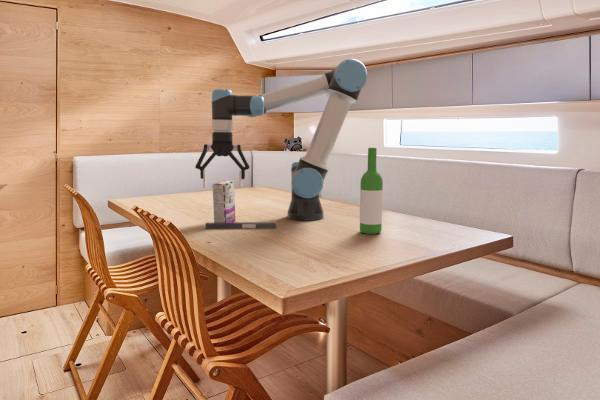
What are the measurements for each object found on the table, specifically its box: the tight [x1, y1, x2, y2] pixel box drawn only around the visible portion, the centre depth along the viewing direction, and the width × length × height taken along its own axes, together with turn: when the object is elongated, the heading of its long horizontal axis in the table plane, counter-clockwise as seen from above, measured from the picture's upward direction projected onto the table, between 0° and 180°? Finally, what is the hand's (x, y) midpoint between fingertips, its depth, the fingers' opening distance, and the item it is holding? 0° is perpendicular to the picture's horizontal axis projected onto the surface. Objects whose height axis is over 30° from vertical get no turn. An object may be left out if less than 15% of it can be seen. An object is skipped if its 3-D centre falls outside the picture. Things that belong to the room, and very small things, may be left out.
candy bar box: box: [212, 180, 236, 223], centre depth 179 cm, size 11×5×16 cm, turn 168°
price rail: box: [205, 221, 277, 230], centre depth 173 cm, size 26×2×2 cm, turn 92°
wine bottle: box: [359, 147, 384, 235], centre depth 164 cm, size 8×8×30 cm
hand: (222, 187), depth 178 cm, fingers open, 13 cm apart
